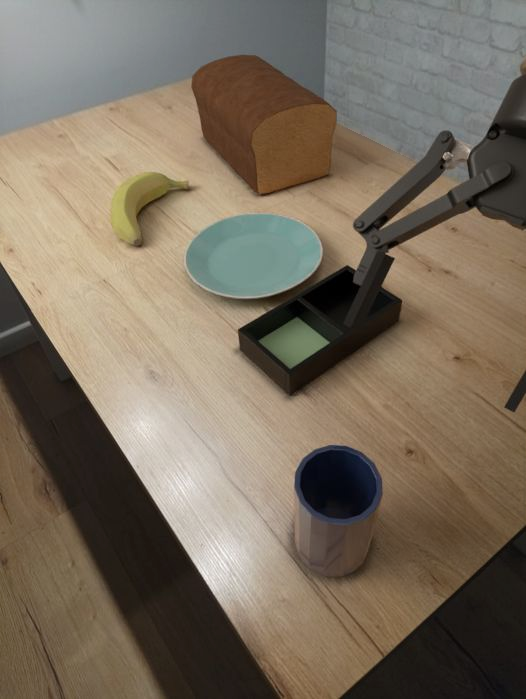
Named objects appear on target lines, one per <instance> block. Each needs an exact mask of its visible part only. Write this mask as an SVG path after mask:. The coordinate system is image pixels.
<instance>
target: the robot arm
mask: <svg viewBox="0 0 526 699" xmlns="http://www.w3.org/2000/svg"><path fill="white" fill-rule="evenodd" d="M519 73H520V76H518V77H516V78H515V79H513V80H512V82H511V84H510V86H509V88H508V89H507V92H506V94H505V95H504V97H503V99H502V102H501V104H500V106H499V107H498V109H497V111H496V114H495V115H494V117H493V120H492V122H491V123H490V126H489V127H488V130H487V132H486V134H485V136H484V137H483V138H482V140H480V142H478V144H476V145H475V146H473V145H471V144H469V143H466V142H464V141H462V140H460V139H458V138H456V137H455V136H454V134H453V132H451V131H450V130H448V129H446V130H442V131H440V132H439V133H438V134H437V135H436V137H435V139H434V141H433V142H432V144H431V146H430V148H429V149H428V151H427V153H426V154H425V156H424V157H423V158H421V159H420V160H419V161H418V162H417V163H416V164H415V165H414V166H413V167H411V168H410V169H409V170H408V171H407V172H406V173H405V174H404V175H403V176H401V177H400V179H398V180H397V181H396V182H395V183H393V185H391V186H390V187H389V188H388V189H387V190H386V191H385V192H384V193H382V195H380V196H379V197H378V198H377V199H376V200H375V201H374V202H373V203H372V204H370V205H369V206H368V207H367V208H366V209H365V210H364V211H363V212H362V213H361V214H360V215H358V216H357V217H356V218H355V219H354V221H353V222H352V228H353V230H354V231H355V232H357V233H358V234H359V235H360V236H361V237H362V238H363V239H364V241H365V243H366V248H365V250H364V253H363V255H362V257H361V259H360V261H359V263H358V265H357V268H356V269H355V270H356V272H355V274H354V277H353V283H355V284H357V285H360V286H361V287H360V289H359V291H358V293H357V295H356V297H355V299H354V302H353V304H352V306H351V308H350V310H349V312H348V314H347V316H346V318H345V321H344V323H343V324H344V325H346V326H348V327H350V328H362V326H363V323H364V321H365V319H366V317H367V315H368V313H369V311H370V309H371V307H372V305H373V303H374V301H375V299H376V297H377V295H378V292H379V290H380V288H381V287H383V284H384V282H385V280H386V278H387V276H388V274H389V272H390V270H391V268H392V265H393V264H394V262H395V257H394V256H391V255H389V254H388V253H390V250H391V249H394V248H396V247H398V246H399V245H402V244H404V243H405V242H408V241H409V240H411V239H414V238H416V237H417V236H419V235H422V234H423V233H425V232H427V231H429V230H431V229H432V228H435V227H437V226H438V225H441V224H443V223H444V222H447V221H448V220H451V219H452V218H454V217H456V216H458V215H461V214H465V213H467V212H469V211H471V210H473V209H476V210H477V211H478V212H479V213H480V214H481V215H482V216H483V217H486V218H488V219H490V220H495V221H497V220H498V221H503V222H506V223H507V224H508V225H510V226H511V227H512V228H515V229H518V230H520V231H524V230H526V54H525V56H524V57H523V59H522V61H521V63H520V64H519ZM462 163H466V166H467V172H468V179H467V180H465V181H463V182H462V183H460V184H457V185H456V186H454V187H452V188H451V189H450V190H448V192H447V193H445V194H444V195H441V196H440V197H438V198H436V199H435V200H432V201H430V202H429V203H426V204H425V205H422V206H421V207H419V208H418V209H416V210H414V211H412V212H410V213H408V214H407V215H405V216H403V217H401V218H399V219H397V220H396V221H393V222H391V223H390V224H388V222H390V221H391V220H393V218H394V217H396V216H397V215H398V214H399V213H400V212H401V211H402V210H404V209H405V208H407V206H408V205H409V204H411V203H412V202H413V201H414V200H415V199H416V198H417V197H419V196H420V195H421V194H422V193H423V192H424V191H426V190H427V189H428V188H429V187H430V186H431V185H432V184H434V183H435V182H436V181H437V180H438V179H439V178H440V177H441V176H442V175H443V174H444V172H445V171H451V170H453V169H455V168H456V167H457V166H458V165H460V164H462ZM386 224H388V225H386ZM385 225H386V226H385ZM525 395H526V369H525V371H524V372H523V374H522V375H521V377H520V379H519V381H518V382H517V384H516V386H515V387H514V389H513V391H512V392H511V394H510V396H509V397H508V399H507V401H506V402H505V404H504V406H503V408H504V409H507V410H508V411H510V412H512V413H515V412H516V410H517V409H518V407H519V405H520V404H521V402H522V400H523V399H524V397H525Z"/></svg>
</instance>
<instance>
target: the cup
mask: <svg viewBox="0 0 526 699" xmlns="http://www.w3.org/2000/svg"><path fill="white" fill-rule="evenodd" d="M383 492H384V491H383V478H382V475H381V474H380V472H379V469H378V467H377V465H376V464H375V462H374V461H372V460H371V459H370V458H369V457H368V456H367V455H366V454H365V453H363V452H362V451H360V450H358V449H355V448H354V447H353V448H352V447H351V446H348V445H339V444H338V445H337V444H328V445H325V446H321V447H318V448H314V449H313V450H311V452H309V453H308V454H306V455H305V456H304V457H303V458H302V459H301V461H300V462H299V465H298V466H297V468H296V470H295V472H294V482H293V499H294V500H293V503H294V505H293V506H294V508H293V510H294V511H293V512H294V543H295V547H296V551H297V554H298V556H299V557H300V559H301V561H302V562H303V564H304V565H305V566H306V567H308V568H309V569H310V570H311V571H313V572H315V573H316V574H317V575H320V576H324V577H329V578H340V577H344V576H345V577H346V576H348V575H350V574H352V573H354V572H355V571H357V570H358V569H359V568H360V567H361V566H362V564H363V563H364V561H365V559H366V557H367V554H368V552H369V550H370V546H371V543H372V542H371V541H372V538H373V534H374V531H375V526H376V523H377V519H378V514H379V510H380V507H381V502H382V498H383V494H384V493H383Z"/></svg>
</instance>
